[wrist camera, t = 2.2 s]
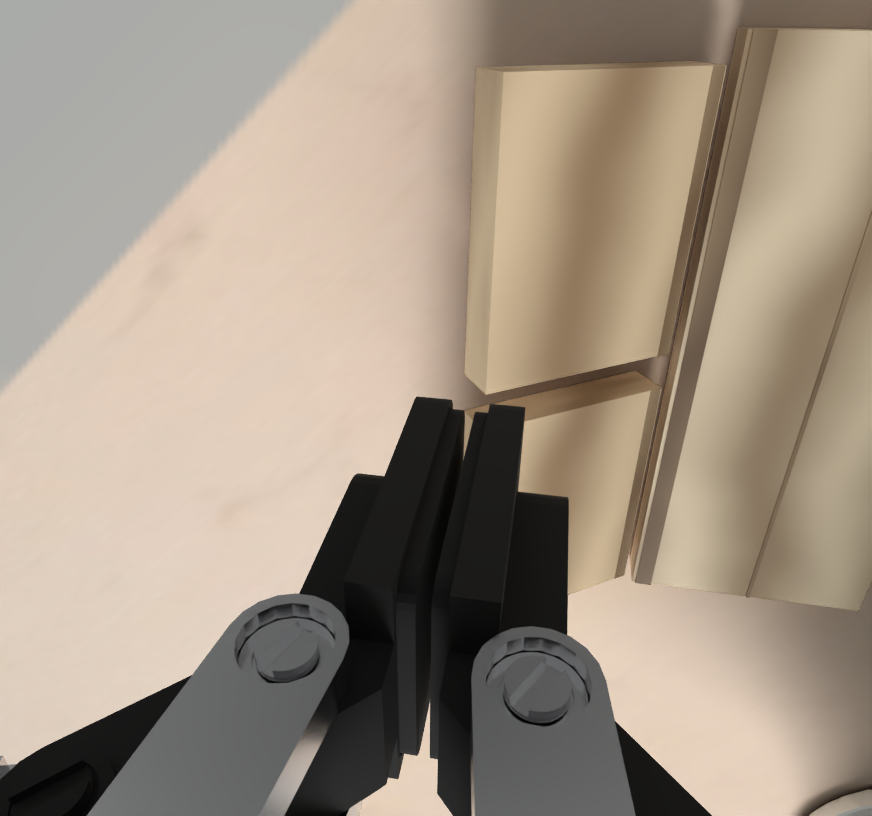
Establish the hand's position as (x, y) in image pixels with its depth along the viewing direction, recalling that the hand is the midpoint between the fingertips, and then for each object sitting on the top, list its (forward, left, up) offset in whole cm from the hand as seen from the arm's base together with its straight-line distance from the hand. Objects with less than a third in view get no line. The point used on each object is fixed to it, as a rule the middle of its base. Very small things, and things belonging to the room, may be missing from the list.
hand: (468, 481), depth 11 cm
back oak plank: (-1, +12, -16) cm, 20 cm away
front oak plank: (-1, 0, -16) cm, 16 cm away
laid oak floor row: (-11, +6, -18) cm, 22 cm away
